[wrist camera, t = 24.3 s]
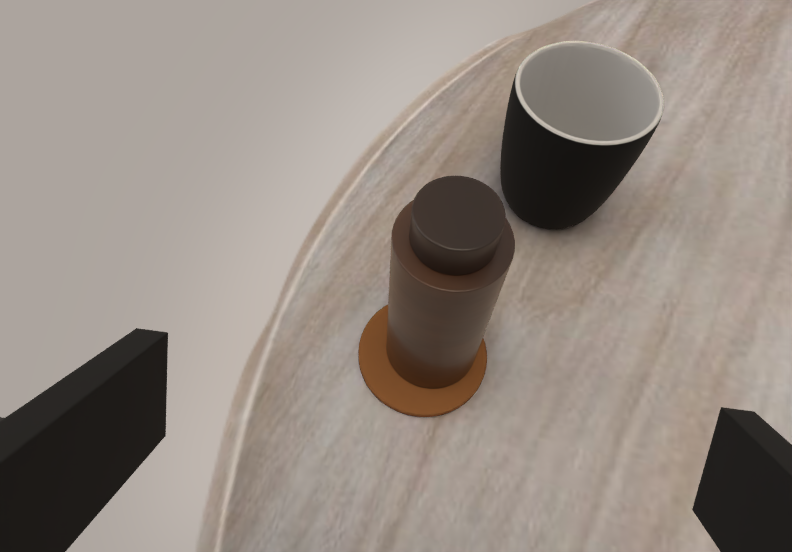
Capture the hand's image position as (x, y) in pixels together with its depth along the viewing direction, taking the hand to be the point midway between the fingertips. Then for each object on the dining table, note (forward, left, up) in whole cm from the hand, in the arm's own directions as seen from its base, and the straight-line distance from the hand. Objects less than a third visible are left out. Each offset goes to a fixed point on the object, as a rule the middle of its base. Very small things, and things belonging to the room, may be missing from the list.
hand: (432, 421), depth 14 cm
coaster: (+3, +10, -21) cm, 23 cm away
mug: (+14, +23, -21) cm, 34 cm away
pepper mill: (+4, +11, -20) cm, 23 cm away
